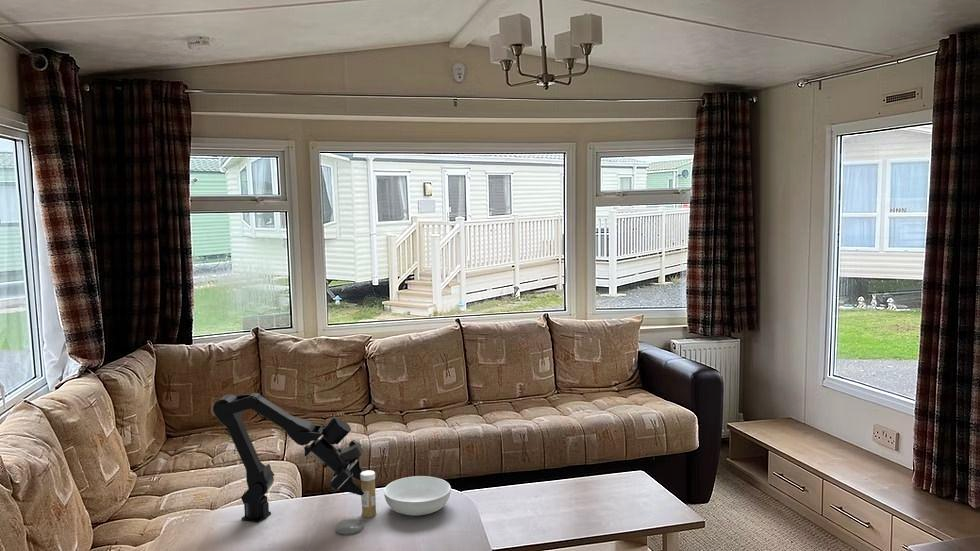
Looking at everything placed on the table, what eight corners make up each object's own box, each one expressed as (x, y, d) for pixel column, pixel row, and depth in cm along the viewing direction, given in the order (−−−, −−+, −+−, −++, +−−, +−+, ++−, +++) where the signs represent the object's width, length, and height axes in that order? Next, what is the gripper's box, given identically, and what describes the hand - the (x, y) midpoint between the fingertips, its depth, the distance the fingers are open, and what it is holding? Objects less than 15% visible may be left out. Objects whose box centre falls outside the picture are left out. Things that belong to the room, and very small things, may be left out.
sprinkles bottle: (378, 515, 207) (377, 473, 206) (365, 519, 204) (363, 476, 203) (372, 510, 211) (371, 468, 209) (359, 513, 208) (357, 471, 207)
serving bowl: (448, 523, 200) (447, 501, 200) (378, 524, 201) (378, 502, 200) (453, 495, 221) (453, 475, 221) (390, 495, 222) (389, 475, 221)
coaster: (330, 532, 196) (330, 530, 196) (344, 521, 203) (344, 518, 203) (355, 536, 193) (355, 533, 193) (368, 524, 201) (368, 521, 201)
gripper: (339, 446, 196) (378, 481, 197) (352, 426, 215) (388, 459, 216) (313, 473, 197) (353, 508, 198) (328, 451, 215) (364, 483, 216)
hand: (365, 488), depth 207 cm, fingers open, 9 cm apart
